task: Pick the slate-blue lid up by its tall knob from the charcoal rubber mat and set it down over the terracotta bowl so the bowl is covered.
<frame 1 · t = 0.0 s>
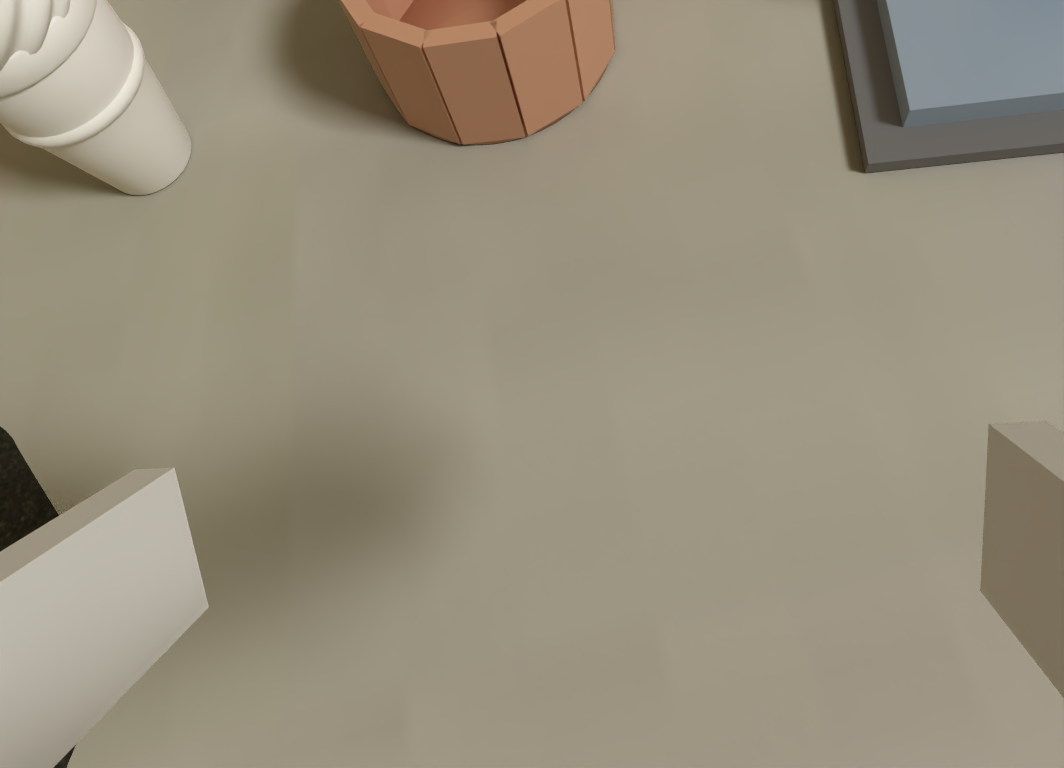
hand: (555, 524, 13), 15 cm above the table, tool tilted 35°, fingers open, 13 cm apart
black flat irregular plate: (37, 691, 30), on the table
soft serve ice cream cone: (155, 161, 38), on the table
bowl: (496, 45, 36), on the table
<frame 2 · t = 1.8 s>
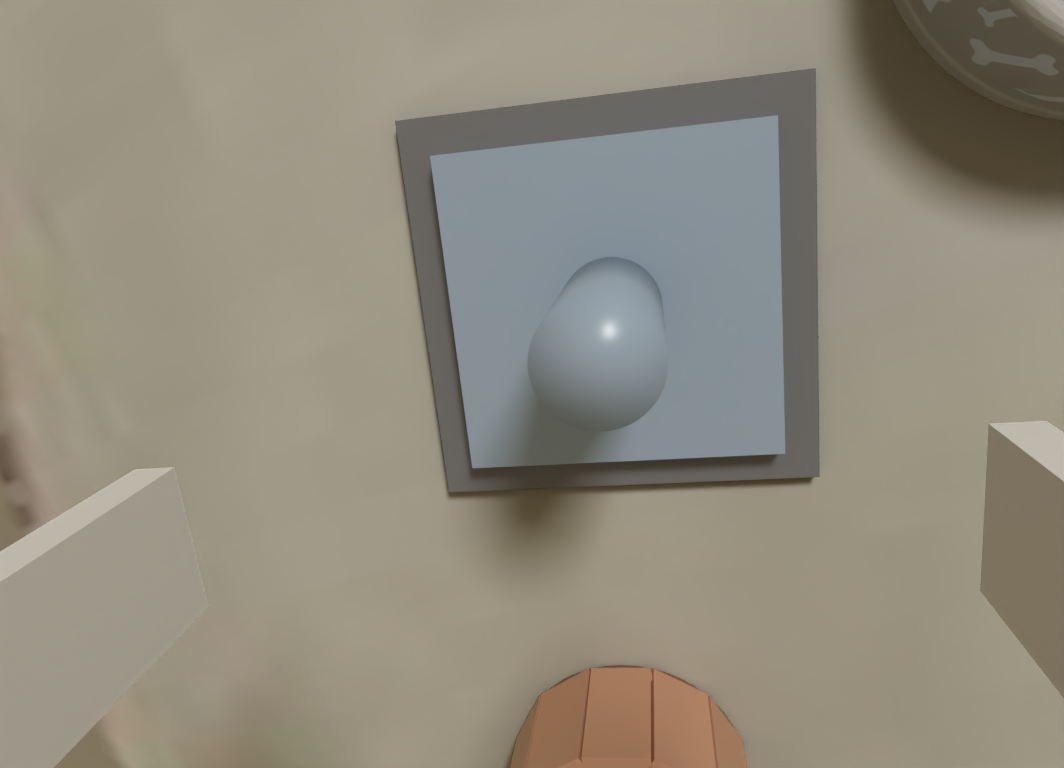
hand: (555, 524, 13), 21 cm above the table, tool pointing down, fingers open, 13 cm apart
lid: (612, 303, 32), point 1 cm above the table, touching mat
mat: (613, 300, 32), on the table
bowl: (629, 761, 38), on the table
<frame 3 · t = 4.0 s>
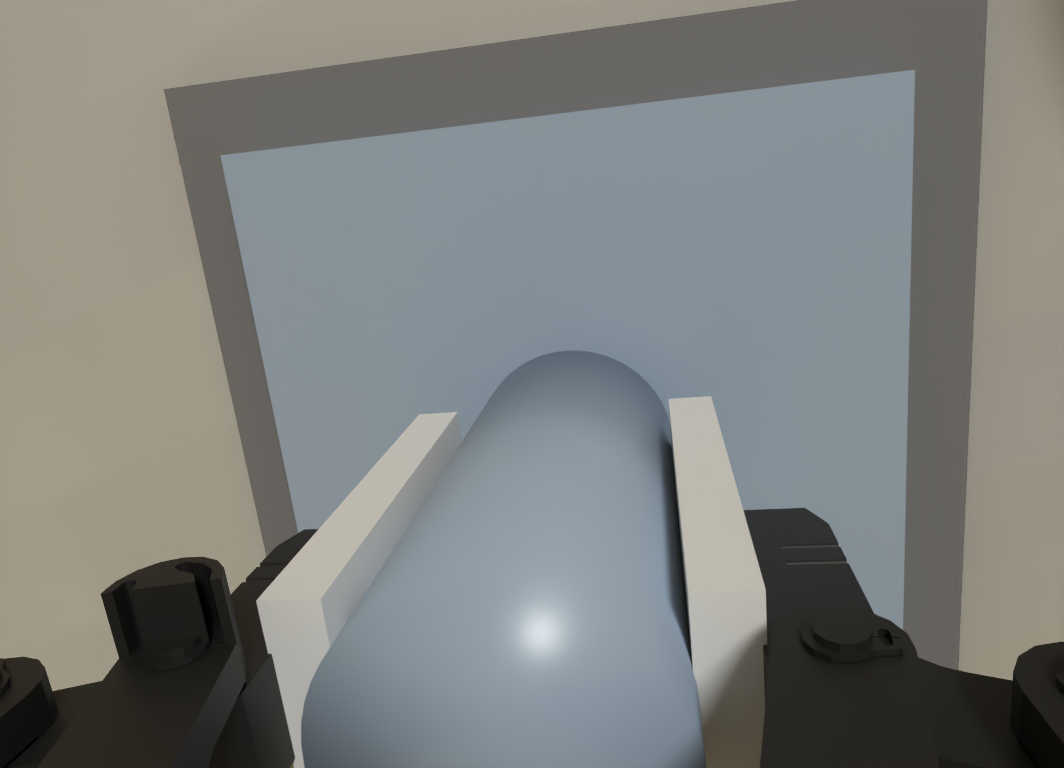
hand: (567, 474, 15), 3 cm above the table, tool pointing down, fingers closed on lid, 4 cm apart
lid: (578, 428, 17), point 1 cm above the table, touching gripper, mat
mat: (580, 419, 18), on the table
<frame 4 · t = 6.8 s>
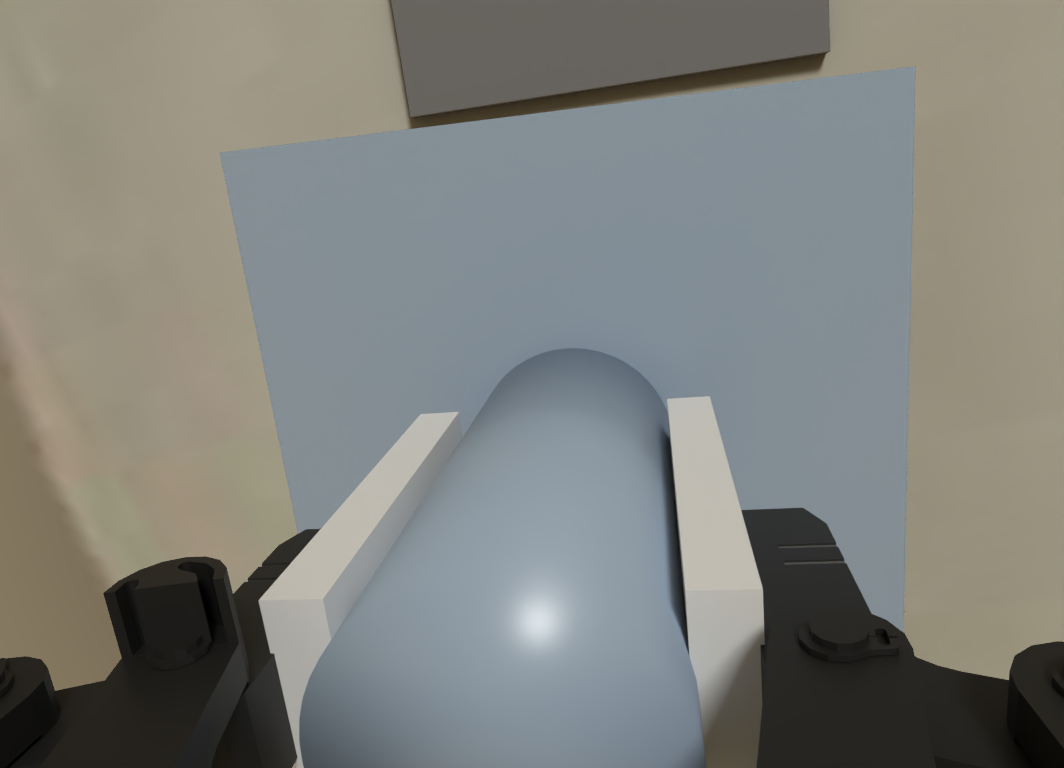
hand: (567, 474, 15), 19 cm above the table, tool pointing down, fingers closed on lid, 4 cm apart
lid: (578, 426, 17), point 16 cm above the table, touching gripper
when the fingers open (10 cm above the table, at t = 9.5 s): lid drops 2 cm, resting on bowl.
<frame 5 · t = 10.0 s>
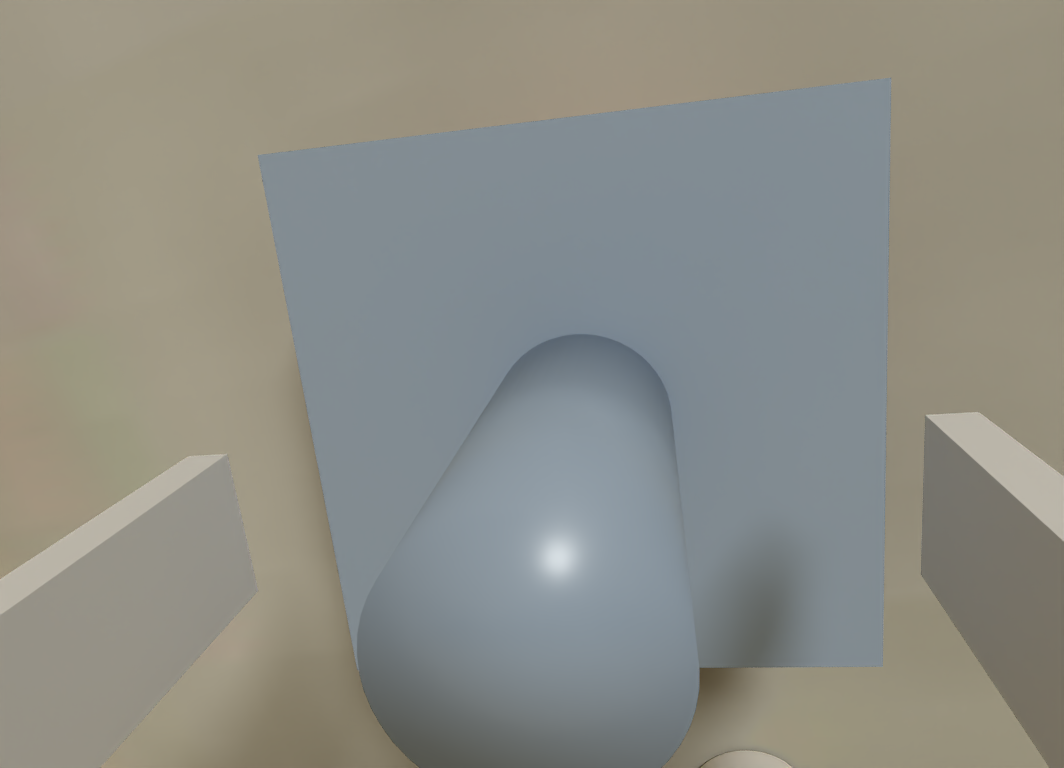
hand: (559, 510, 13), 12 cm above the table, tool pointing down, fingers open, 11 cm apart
lid: (585, 407, 18), point 6 cm above the table, touching bowl
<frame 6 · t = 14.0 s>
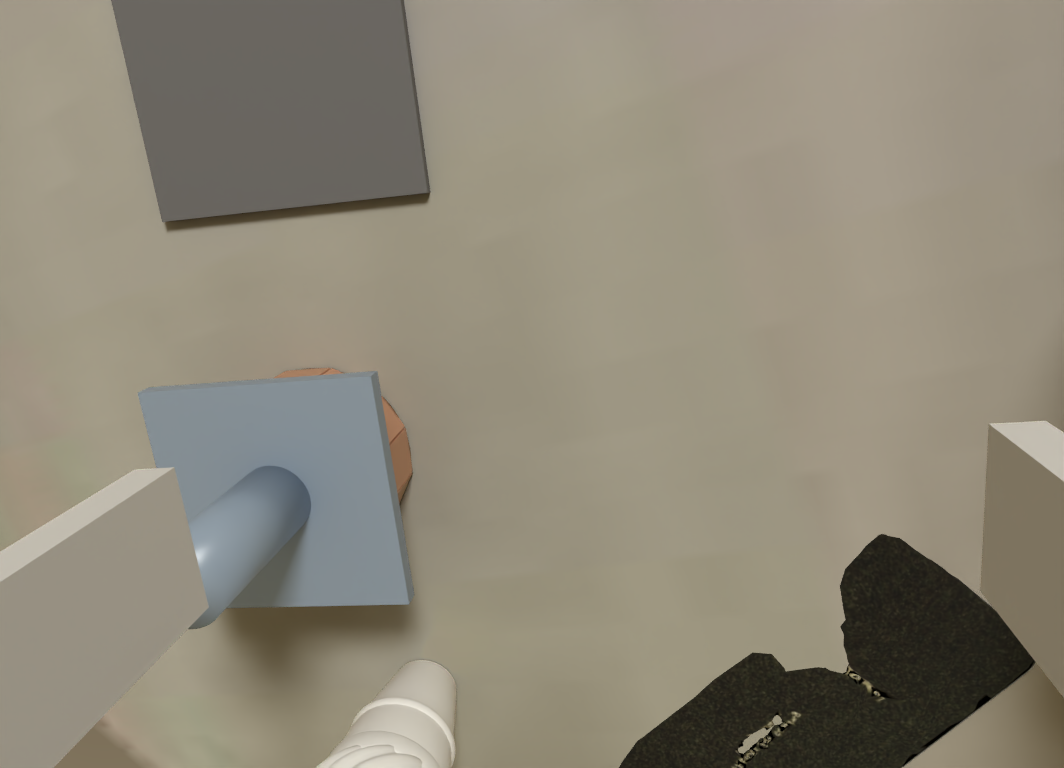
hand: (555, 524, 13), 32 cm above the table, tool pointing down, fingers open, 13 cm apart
lid: (283, 492, 43), point 6 cm above the table, touching bowl
black flat irregular plate: (797, 699, 49), on the table
soft serve ice cream cone: (427, 683, 52), on the table
mat: (267, 57, 42), on the table
bowl: (325, 453, 48), on the table
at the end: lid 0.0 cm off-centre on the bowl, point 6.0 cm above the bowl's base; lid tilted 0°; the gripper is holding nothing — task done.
